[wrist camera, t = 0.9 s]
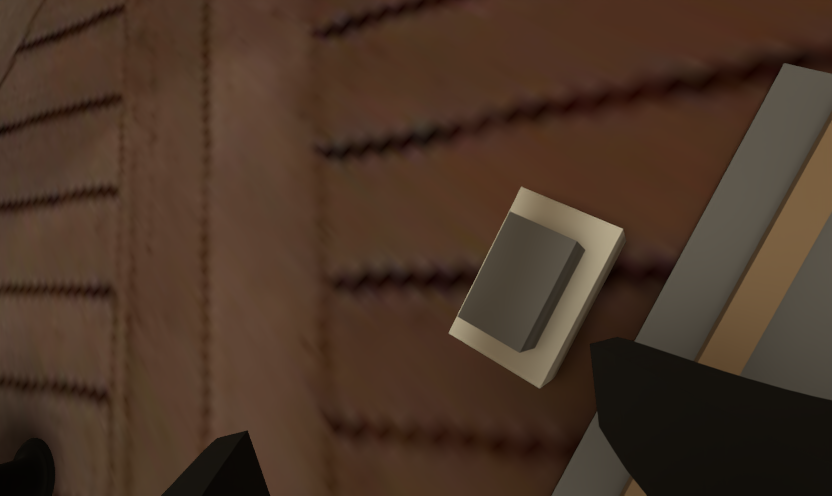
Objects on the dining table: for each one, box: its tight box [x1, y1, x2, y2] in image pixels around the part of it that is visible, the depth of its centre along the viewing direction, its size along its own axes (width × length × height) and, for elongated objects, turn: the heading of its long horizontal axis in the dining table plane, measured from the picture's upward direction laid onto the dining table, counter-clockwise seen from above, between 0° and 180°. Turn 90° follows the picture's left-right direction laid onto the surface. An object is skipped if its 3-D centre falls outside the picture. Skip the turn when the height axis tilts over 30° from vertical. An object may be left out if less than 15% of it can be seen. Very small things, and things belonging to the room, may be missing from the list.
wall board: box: [552, 63, 832, 496], centre depth 18 cm, size 13×28×6 cm, turn 151°
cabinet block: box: [449, 187, 626, 389], centre depth 23 cm, size 5×8×7 cm, turn 151°
